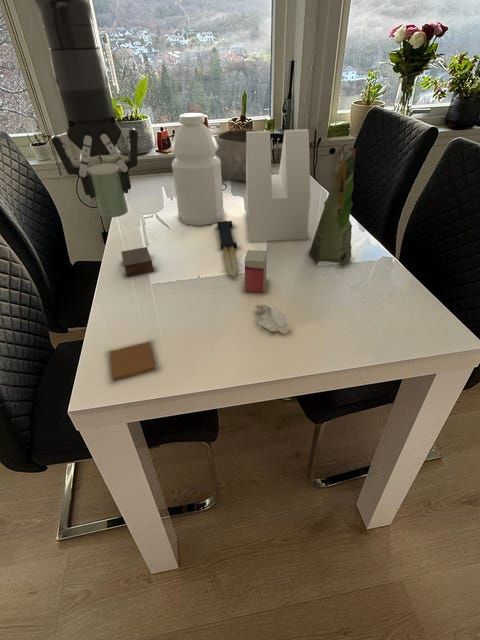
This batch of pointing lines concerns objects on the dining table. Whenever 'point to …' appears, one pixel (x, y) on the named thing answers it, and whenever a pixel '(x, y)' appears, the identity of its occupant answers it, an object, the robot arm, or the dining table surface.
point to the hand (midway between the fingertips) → (109, 194)
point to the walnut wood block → (137, 261)
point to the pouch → (336, 216)
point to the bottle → (197, 172)
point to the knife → (228, 246)
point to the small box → (255, 271)
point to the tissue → (273, 319)
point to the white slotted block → (278, 187)
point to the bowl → (233, 153)
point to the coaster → (131, 360)
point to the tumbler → (108, 190)
